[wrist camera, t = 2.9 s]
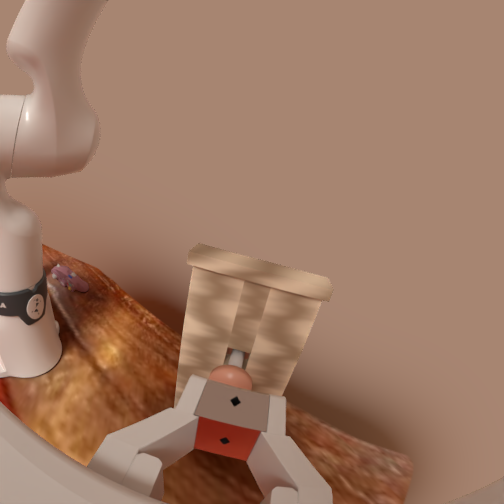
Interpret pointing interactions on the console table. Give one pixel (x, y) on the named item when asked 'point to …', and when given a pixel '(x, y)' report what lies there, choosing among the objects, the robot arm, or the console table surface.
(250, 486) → the console table surface
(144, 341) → the console table surface
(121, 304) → the console table surface
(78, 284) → the video game controller
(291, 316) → the beige tall block
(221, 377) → the reddish round knob
